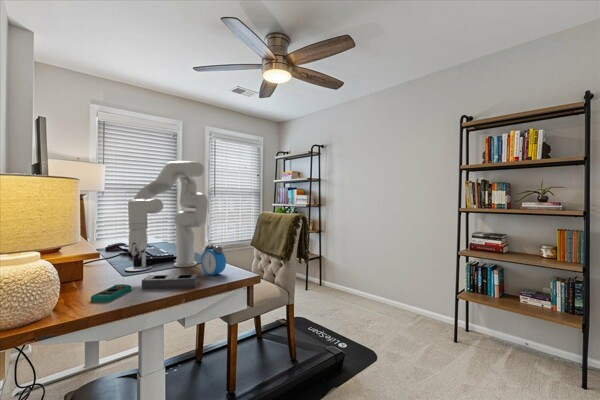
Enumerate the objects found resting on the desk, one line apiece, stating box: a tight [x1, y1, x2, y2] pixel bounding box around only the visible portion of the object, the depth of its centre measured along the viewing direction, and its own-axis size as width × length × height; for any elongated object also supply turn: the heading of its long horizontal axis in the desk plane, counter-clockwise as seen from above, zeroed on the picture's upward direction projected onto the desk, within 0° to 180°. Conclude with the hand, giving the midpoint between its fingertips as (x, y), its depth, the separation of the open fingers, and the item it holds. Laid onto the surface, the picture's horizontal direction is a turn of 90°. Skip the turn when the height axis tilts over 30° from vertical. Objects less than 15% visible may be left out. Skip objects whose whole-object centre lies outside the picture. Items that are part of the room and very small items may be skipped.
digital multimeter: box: [90, 283, 133, 303], centre depth 117 cm, size 7×15×3 cm, turn 177°
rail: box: [141, 273, 199, 290], centre depth 130 cm, size 8×22×4 cm, turn 98°
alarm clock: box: [200, 244, 227, 277], centre depth 149 cm, size 13×6×15 cm, turn 56°
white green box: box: [132, 251, 147, 270], centre depth 133 cm, size 4×4×7 cm
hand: (139, 264), depth 134 cm, fingers closed on white green box, 4 cm apart
